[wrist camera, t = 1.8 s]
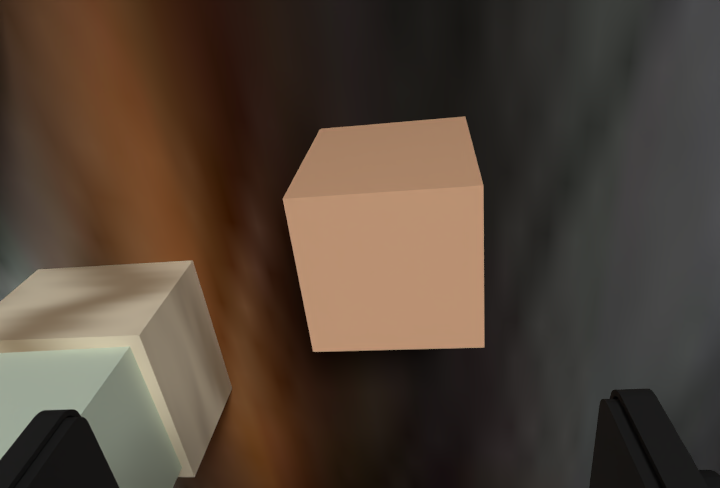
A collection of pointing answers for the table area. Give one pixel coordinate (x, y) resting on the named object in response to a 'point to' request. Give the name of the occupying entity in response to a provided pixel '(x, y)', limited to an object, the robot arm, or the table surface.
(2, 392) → the sage top block
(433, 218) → the terracotta block
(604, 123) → the table surface
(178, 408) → the beech base block
